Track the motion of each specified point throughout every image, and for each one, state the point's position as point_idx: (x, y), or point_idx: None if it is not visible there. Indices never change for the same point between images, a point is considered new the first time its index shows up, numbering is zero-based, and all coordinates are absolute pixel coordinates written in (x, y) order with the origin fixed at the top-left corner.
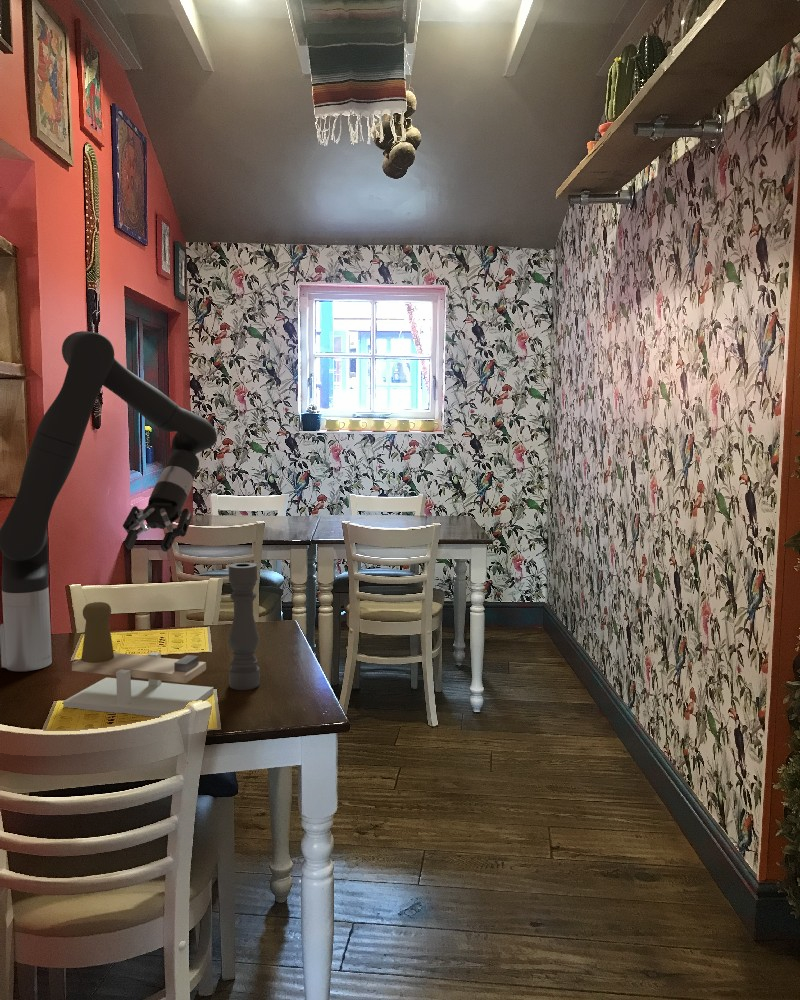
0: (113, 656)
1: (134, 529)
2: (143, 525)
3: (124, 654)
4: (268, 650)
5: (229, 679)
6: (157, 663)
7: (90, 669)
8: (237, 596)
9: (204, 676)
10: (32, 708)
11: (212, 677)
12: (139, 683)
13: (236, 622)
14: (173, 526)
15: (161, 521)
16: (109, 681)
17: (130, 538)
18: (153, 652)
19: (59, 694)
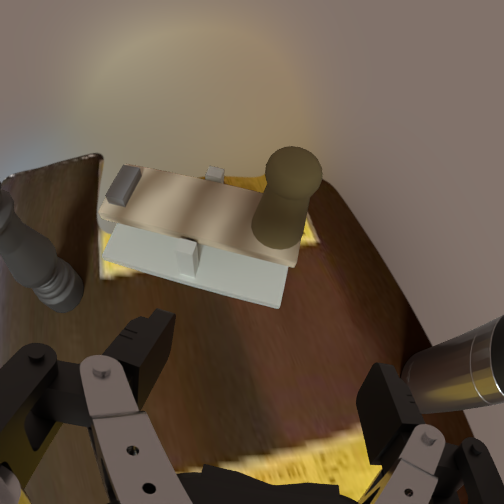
0: (251, 225)
1: (406, 441)
2: (370, 495)
3: (239, 243)
4: (42, 462)
5: (79, 281)
6: (171, 203)
7: None
8: (3, 191)
9: None
10: (331, 219)
11: (110, 329)
12: (215, 276)
13: (28, 226)
14: (105, 485)
15: (196, 477)
16: (267, 287)
17: (385, 386)
18: (188, 253)
19: (325, 263)
